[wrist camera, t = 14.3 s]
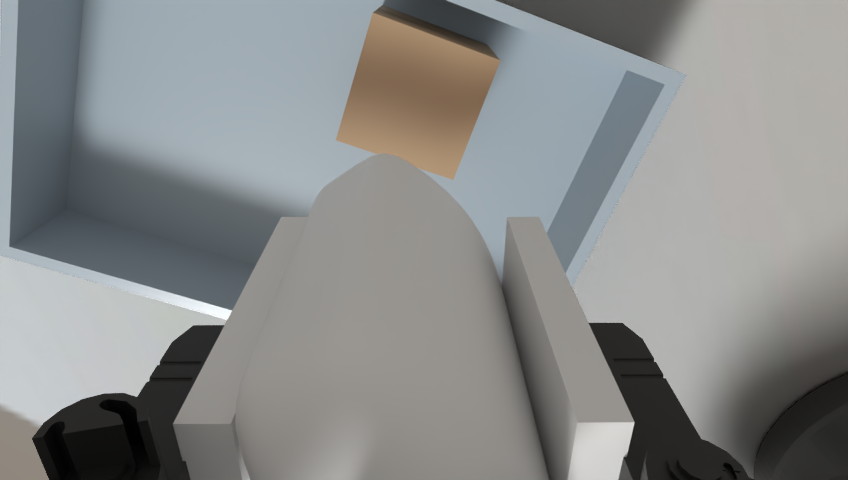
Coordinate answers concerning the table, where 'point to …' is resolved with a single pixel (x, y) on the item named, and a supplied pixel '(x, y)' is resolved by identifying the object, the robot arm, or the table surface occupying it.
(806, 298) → the table surface
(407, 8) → the tray
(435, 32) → the walnut cube
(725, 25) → the table surface
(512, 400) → the eye dropper bottle
